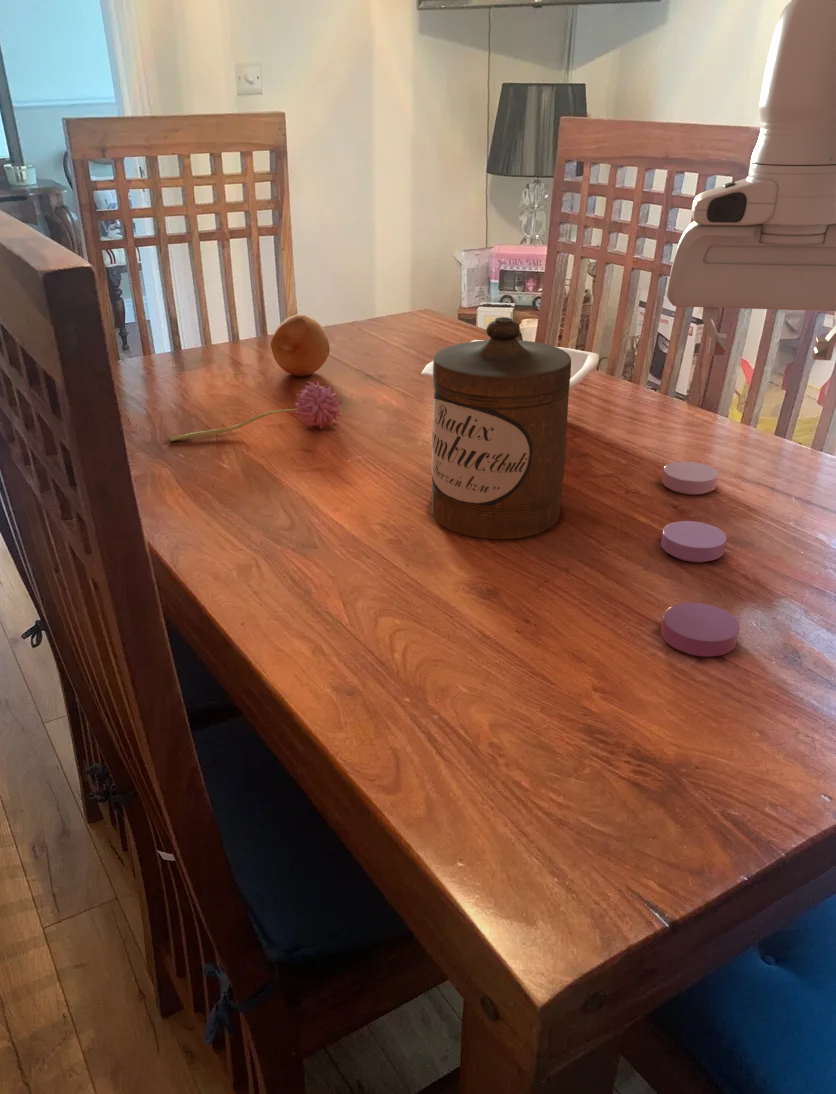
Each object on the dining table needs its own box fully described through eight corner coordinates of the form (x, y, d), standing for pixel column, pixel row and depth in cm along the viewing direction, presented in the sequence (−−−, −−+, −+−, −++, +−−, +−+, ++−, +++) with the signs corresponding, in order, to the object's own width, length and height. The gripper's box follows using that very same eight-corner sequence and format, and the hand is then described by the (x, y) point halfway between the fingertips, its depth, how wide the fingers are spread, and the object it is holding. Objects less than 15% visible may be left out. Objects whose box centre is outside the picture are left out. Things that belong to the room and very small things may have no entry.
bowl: (603, 407, 132) (609, 351, 128) (557, 457, 115) (563, 395, 110) (469, 388, 141) (471, 336, 136) (408, 433, 123) (408, 374, 119)
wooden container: (405, 514, 100) (404, 320, 89) (484, 477, 109) (492, 297, 98) (507, 554, 91) (520, 345, 80) (584, 510, 100) (606, 316, 89)
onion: (273, 367, 153) (268, 309, 148) (329, 365, 154) (326, 307, 149) (272, 383, 145) (267, 323, 140) (331, 381, 145) (329, 320, 140)
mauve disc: (734, 628, 79) (739, 608, 77) (735, 667, 73) (740, 646, 72) (662, 617, 80) (665, 597, 79) (657, 654, 75) (661, 634, 74)
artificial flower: (180, 471, 119) (351, 426, 123) (164, 422, 117) (340, 377, 121) (178, 462, 125) (342, 419, 129) (163, 415, 123) (331, 372, 127)
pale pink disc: (715, 480, 107) (718, 464, 106) (715, 500, 102) (718, 484, 101) (662, 474, 109) (665, 458, 108) (659, 494, 104) (661, 477, 103)
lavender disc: (723, 542, 93) (726, 524, 92) (723, 569, 88) (727, 551, 87) (661, 534, 95) (664, 517, 94) (658, 561, 90) (661, 543, 89)
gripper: (923, 194, 76) (882, 353, 83) (679, 195, 82) (660, 343, 89) (938, 202, 71) (893, 370, 78) (677, 203, 76) (657, 359, 83)
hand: (767, 356), depth 83 cm, fingers open, 8 cm apart
